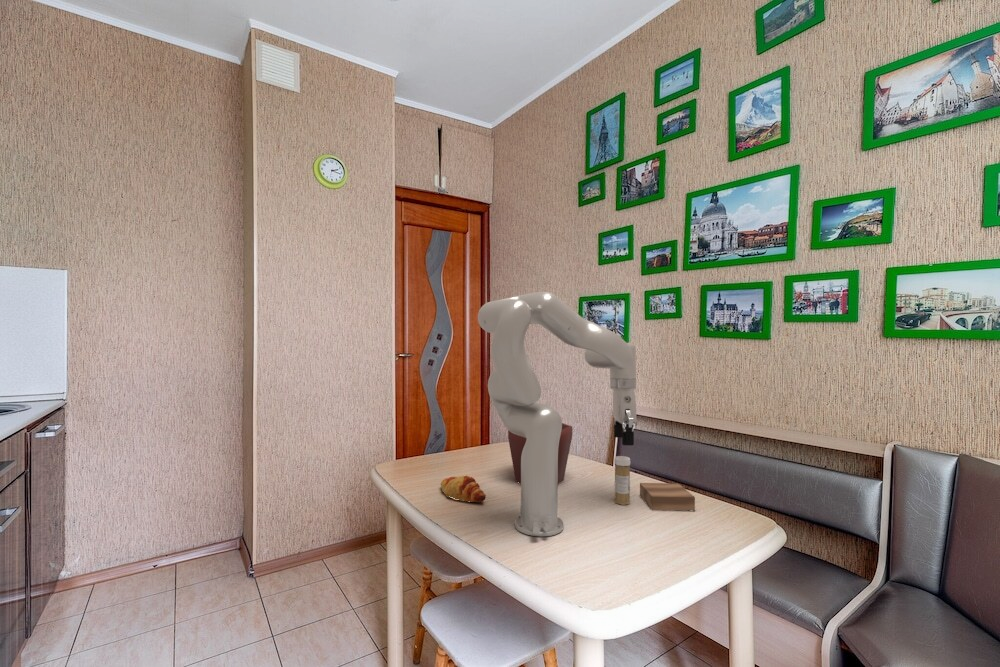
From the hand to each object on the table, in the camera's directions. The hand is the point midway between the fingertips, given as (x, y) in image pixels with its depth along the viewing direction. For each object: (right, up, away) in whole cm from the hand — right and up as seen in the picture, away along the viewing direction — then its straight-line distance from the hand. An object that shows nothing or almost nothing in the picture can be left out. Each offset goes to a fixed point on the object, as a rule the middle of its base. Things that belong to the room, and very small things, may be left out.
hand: (623, 441), depth 133 cm
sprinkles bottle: (-1, -19, 0) cm, 19 cm away
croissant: (-49, -18, +4) cm, 52 cm away
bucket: (-23, -19, +21) cm, 36 cm away
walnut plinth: (+12, -18, -1) cm, 22 cm away
